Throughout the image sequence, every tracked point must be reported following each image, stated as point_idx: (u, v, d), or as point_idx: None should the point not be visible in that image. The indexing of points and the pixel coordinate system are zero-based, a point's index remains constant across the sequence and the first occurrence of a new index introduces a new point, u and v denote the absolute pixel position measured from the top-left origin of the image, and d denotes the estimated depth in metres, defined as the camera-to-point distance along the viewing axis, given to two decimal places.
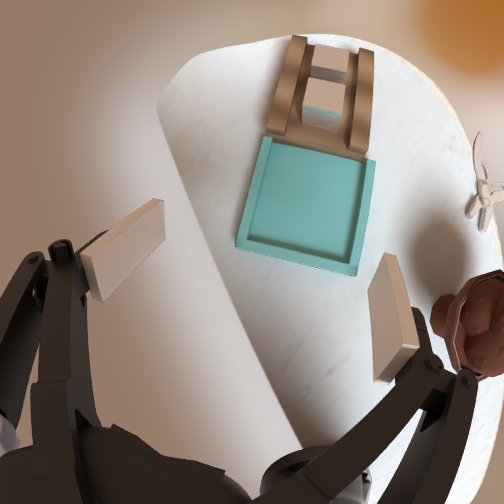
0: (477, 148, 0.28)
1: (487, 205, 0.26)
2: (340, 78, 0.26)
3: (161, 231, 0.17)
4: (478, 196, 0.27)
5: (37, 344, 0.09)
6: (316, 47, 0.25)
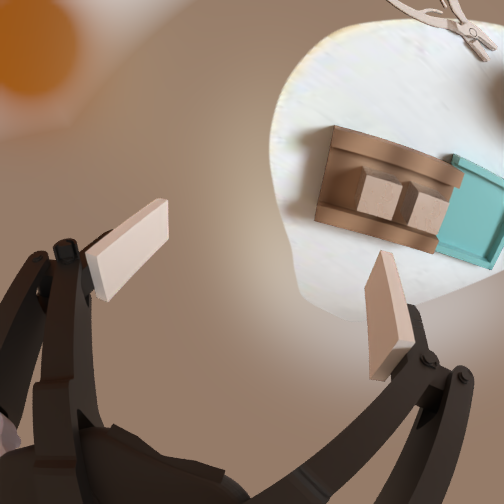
0: (411, 12, 0.19)
1: (475, 33, 0.16)
2: None
3: (165, 230, 0.17)
4: (465, 37, 0.18)
5: (40, 343, 0.09)
6: (363, 210, 0.27)
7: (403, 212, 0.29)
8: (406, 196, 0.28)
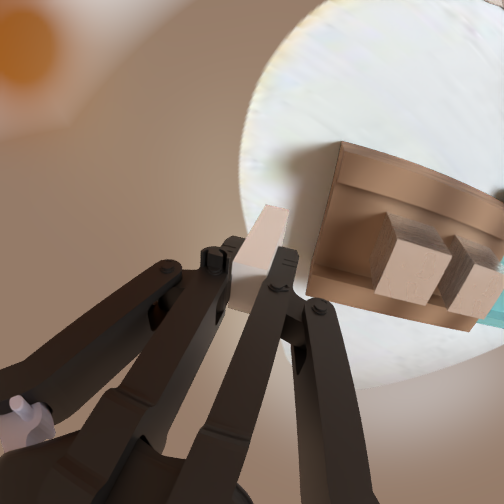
0: None
1: None
2: None
3: None
4: None
5: (131, 358, 0.10)
6: (383, 293, 0.16)
7: (440, 283, 0.17)
8: None
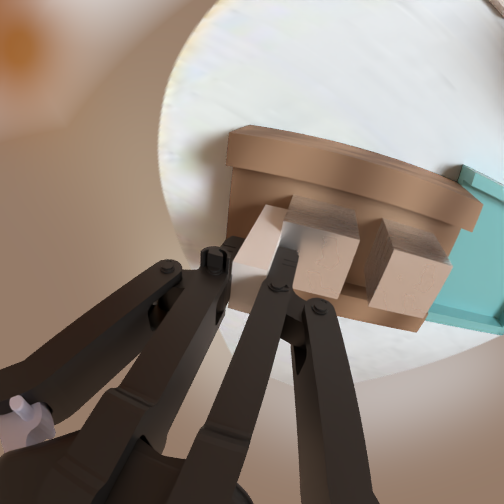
0: None
1: None
2: None
3: None
4: None
5: (131, 358, 0.10)
6: None
7: (367, 274, 0.17)
8: (374, 245, 0.17)
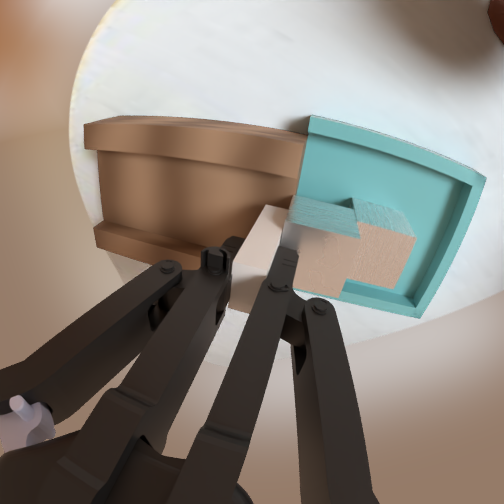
0: None
1: None
2: None
3: None
4: None
5: (131, 358, 0.10)
6: None
7: (359, 275, 0.17)
8: None
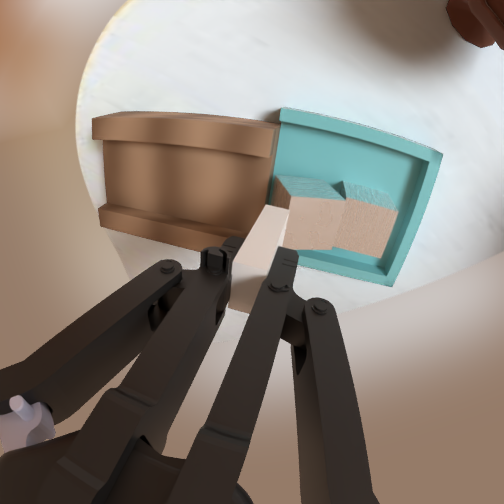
0: None
1: None
2: None
3: None
4: None
5: (131, 358, 0.10)
6: (289, 247, 0.20)
7: (350, 245, 0.20)
8: (346, 222, 0.19)
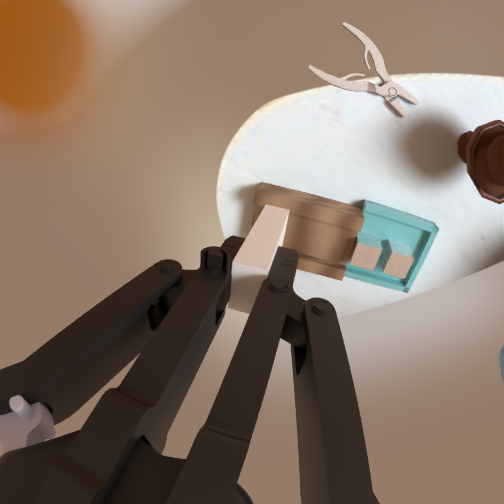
0: (333, 80, 0.32)
1: (395, 91, 0.30)
2: None
3: None
4: (385, 96, 0.31)
5: (131, 358, 0.10)
6: (353, 264, 0.41)
7: (390, 272, 0.40)
8: (390, 262, 0.39)
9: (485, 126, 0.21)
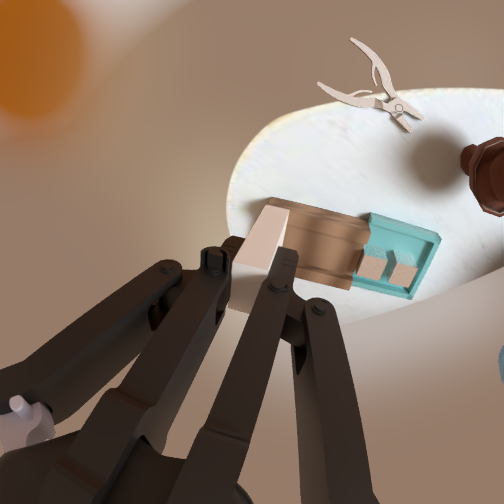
0: (341, 97, 0.34)
1: (402, 108, 0.31)
2: None
3: None
4: (391, 112, 0.33)
5: (131, 358, 0.10)
6: (360, 275, 0.42)
7: (395, 282, 0.41)
8: (395, 272, 0.40)
9: (488, 144, 0.23)
